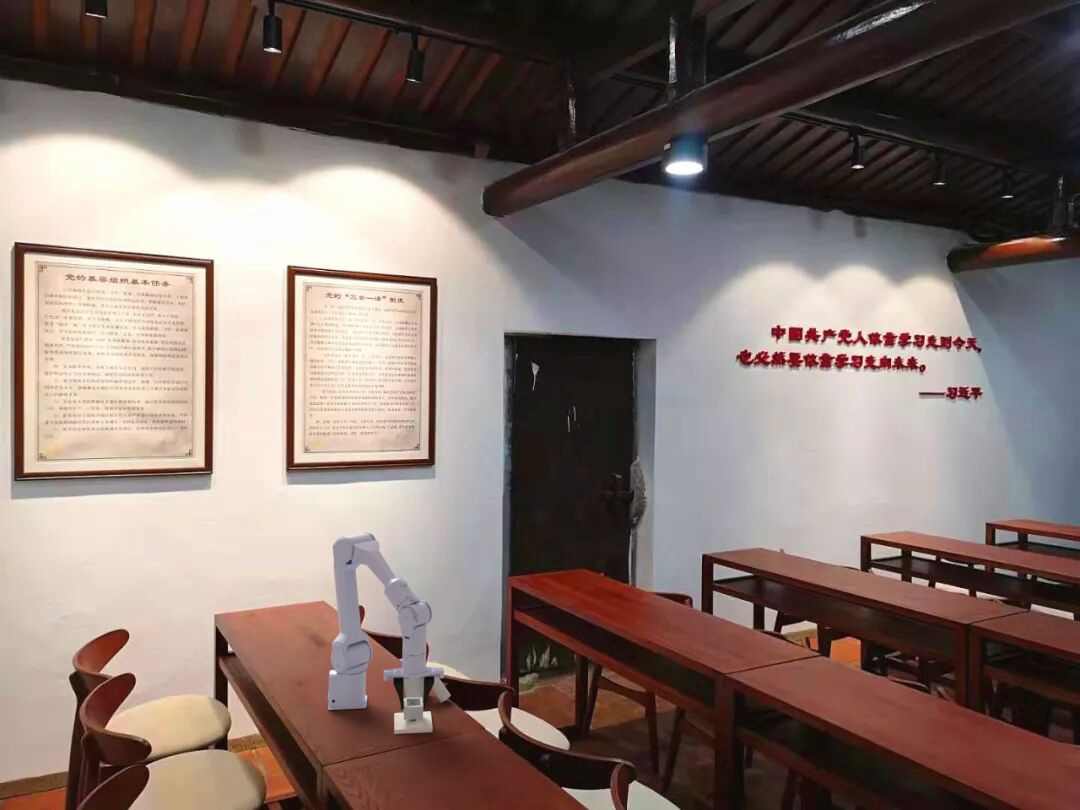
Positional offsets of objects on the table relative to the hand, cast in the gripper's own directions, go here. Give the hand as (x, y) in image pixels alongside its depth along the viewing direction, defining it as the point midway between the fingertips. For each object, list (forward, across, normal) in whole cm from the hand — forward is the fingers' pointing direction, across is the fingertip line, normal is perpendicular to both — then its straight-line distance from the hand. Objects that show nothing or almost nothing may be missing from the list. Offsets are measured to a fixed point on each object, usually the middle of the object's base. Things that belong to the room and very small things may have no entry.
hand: (413, 707), depth 198 cm
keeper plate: (+4, 0, 0) cm, 4 cm away
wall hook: (+4, +4, +15) cm, 16 cm away
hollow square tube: (+2, 0, 0) cm, 2 cm away
